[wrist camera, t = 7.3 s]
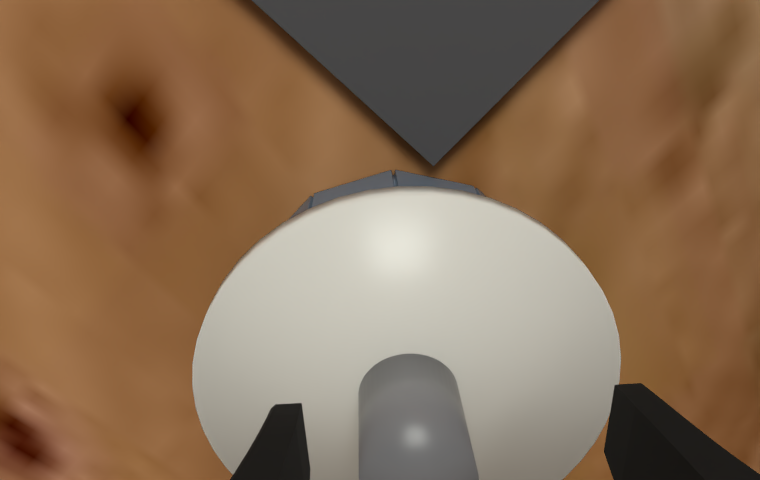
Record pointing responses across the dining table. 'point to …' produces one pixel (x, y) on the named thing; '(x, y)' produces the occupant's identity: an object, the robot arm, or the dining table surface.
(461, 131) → the rubber mat
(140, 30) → the dining table surface
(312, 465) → the white lid
